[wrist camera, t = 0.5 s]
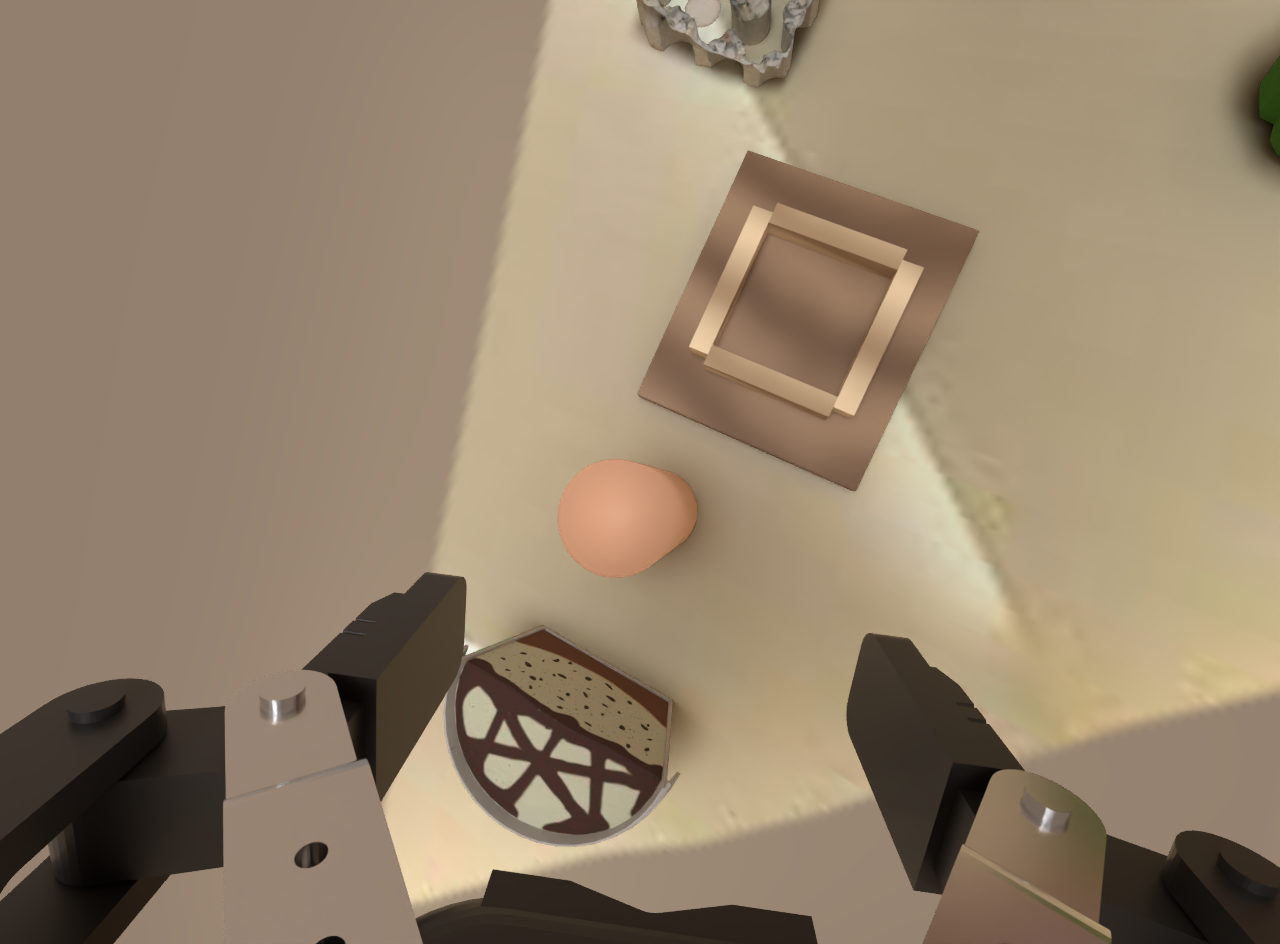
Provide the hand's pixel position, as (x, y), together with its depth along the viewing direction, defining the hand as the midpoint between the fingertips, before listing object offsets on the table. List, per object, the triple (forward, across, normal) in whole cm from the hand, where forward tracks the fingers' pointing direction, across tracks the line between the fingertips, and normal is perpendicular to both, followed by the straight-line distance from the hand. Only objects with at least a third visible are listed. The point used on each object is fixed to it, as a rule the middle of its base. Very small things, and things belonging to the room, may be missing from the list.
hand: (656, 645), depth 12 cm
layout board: (+27, -7, -7) cm, 29 cm away
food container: (+22, +3, +18) cm, 28 cm away
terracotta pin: (+24, 0, +5) cm, 25 cm away
